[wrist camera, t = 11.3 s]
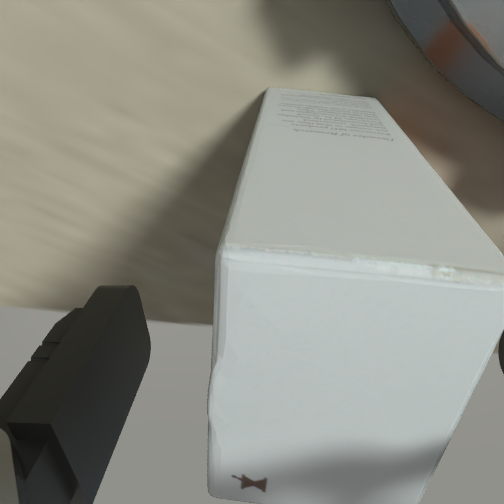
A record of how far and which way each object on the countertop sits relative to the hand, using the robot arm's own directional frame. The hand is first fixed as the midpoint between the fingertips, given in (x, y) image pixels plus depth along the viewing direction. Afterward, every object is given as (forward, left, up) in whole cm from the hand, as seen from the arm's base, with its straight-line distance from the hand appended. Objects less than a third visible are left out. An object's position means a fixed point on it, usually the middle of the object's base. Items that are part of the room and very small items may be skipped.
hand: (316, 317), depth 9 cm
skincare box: (0, 0, -9) cm, 9 cm away
